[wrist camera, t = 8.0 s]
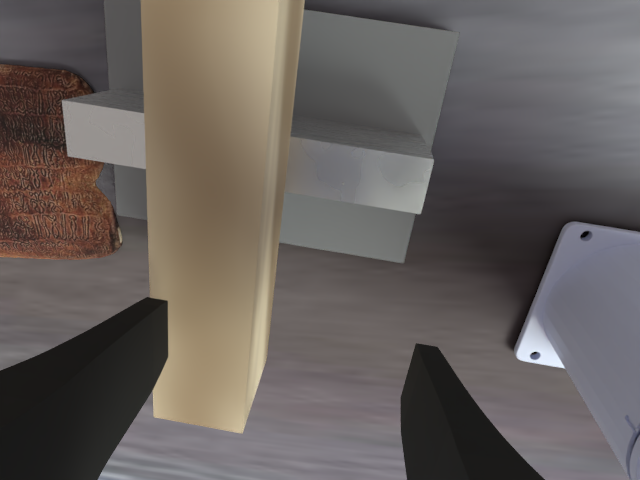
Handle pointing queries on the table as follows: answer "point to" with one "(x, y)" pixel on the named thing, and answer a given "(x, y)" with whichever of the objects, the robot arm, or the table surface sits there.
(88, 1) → the table surface
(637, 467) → the robot arm
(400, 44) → the grey slab
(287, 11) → the maple bar
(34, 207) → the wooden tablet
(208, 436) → the table surface
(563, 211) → the table surface
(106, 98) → the steel ridge
